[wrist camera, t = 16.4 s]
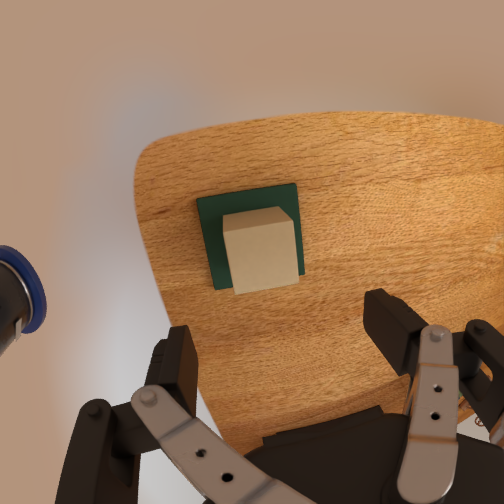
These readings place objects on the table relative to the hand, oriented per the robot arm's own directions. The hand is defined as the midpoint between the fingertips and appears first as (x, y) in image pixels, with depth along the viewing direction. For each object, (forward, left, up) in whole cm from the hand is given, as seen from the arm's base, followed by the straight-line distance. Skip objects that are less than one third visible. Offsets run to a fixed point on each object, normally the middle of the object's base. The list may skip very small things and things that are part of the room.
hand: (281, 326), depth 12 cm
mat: (0, 0, -13) cm, 13 cm away
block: (0, 0, -12) cm, 12 cm away
